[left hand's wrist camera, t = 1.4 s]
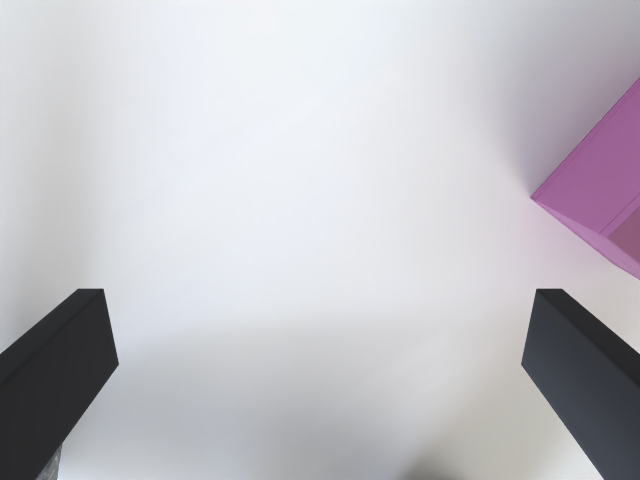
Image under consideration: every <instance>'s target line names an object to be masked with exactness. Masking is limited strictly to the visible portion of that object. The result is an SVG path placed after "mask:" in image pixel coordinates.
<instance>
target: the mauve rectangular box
mask: <svg viewBox="0 0 640 480" xmlns="http://www.w3.org/2000/svg"><path fill="white" fill-rule="evenodd" d="M531 199H532V200H534V201H535V202H536V203H537V204H539V205H540V206H541V207H542V208H544V209H545V210H546V211H547V212H549V213H550V214H551V215H552V216H554V217H555V218H556V219H558V220H559V221H560V222H561V223H563V224H564V225H565V226H566V227H568V228H569V229H570V230H571V231H573V232H574V233H575V234H577V235H578V236H579V237H580V238H582V239H583V240H584V241H585V242H587V243H588V244H589V245H590V246H592V247H593V248H594V249H596V250H597V251H598V252H599V253H601V254H602V255H603V256H604V257H606V258H607V259H608V260H609V261H611V262H612V263H613V264H615V265H616V266H618V267H619V268H621V269H623V270H625V271H626V272H628V273H629V274H631V275H633V276H634V277H636V278H638V279H639V280H640V78H639V79H638V80H637V81H636V82H635V84H634V85H633V86H632V87H631V88H630V89H629V90H628V91H627V92H626V93H625V95H624V96H623V97H622V98H621V99H620V100H619V101H618V102H617V103H616V104H615V105H614V107H613V108H612V109H611V110H610V111H609V112H608V113H607V114H606V115H605V116H604V118H603V119H602V120H601V121H600V122H599V123H598V124H597V125H596V126H595V127H594V129H593V130H592V131H591V132H590V133H589V134H588V135H587V136H586V137H585V138H584V139H583V141H582V142H581V143H580V144H579V145H578V146H577V147H576V148H575V149H574V150H573V152H572V153H571V154H570V155H569V156H568V157H567V158H566V159H565V160H564V161H563V162H562V164H561V165H560V166H559V167H558V168H557V169H556V170H555V171H554V172H553V173H552V175H551V176H550V177H549V178H548V179H547V180H546V181H545V182H544V183H543V184H542V186H541V187H540V188H539V189H538V190H537V191H536V192H535V193H534V194H533V195H532V196H531Z"/></svg>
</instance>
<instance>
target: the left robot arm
mask: <svg viewBox="0 0 640 480" xmlns="http://www.w3.org/2000/svg"><path fill="white" fill-rule="evenodd" d="M118 365H119V363H118V358H117V353H116V348H115V343H114V338H113V333H112V328H111V323H110V318H109V313H108V309H107V304H106V299H105V294H104V289H77V290H76V291H75V292H74V293H73V294H71V295H70V296H69V297H68V298H67V299H65V300H64V301H63V302H62V303H61V304H59V305H58V306H57V307H56V308H55V309H54V310H52V311H51V312H50V313H49V314H48V315H46V316H45V317H44V318H43V319H42V320H40V321H39V322H38V323H37V324H36V325H34V326H33V327H32V328H31V329H30V330H29V331H27V332H26V333H25V334H24V335H23V336H21V337H20V338H19V339H18V340H17V341H15V342H14V343H13V344H12V345H11V346H9V347H8V348H7V349H6V350H5V351H3V352H2V353H1V354H0V480H36V479H37V477H38V476H39V474H40V473H41V472H42V470H43V469H44V468H45V466H46V465H47V463H48V462H49V461H50V459H51V458H52V456H53V455H54V454H55V452H56V451H57V450H58V448H59V447H60V445H61V444H62V443H63V441H64V440H65V438H66V437H67V436H68V434H69V433H70V432H71V430H72V429H73V427H74V426H75V425H76V423H77V422H78V420H79V419H80V418H81V416H82V415H83V413H84V412H85V411H86V409H87V408H88V407H89V405H90V404H91V402H92V401H93V400H94V398H95V397H96V395H97V394H98V393H99V391H100V390H101V389H102V387H103V386H104V384H105V383H106V382H107V380H108V379H109V377H110V376H111V375H112V373H113V372H114V371H115V369H116V368H117V366H118ZM521 365H522V366H523V368H524V369H525V371H526V372H527V373H528V375H529V376H530V377H531V379H532V380H533V382H534V383H535V384H536V386H537V387H538V389H539V390H540V391H541V393H542V394H543V395H544V397H545V398H546V400H547V401H548V402H549V404H550V405H551V407H552V408H553V409H554V411H555V412H556V413H557V415H558V416H559V418H560V419H561V420H562V422H563V423H564V425H565V426H566V427H567V429H568V430H569V432H570V433H571V434H572V436H573V437H574V438H575V440H576V441H577V443H578V444H579V445H580V447H581V448H582V450H583V451H584V452H585V454H586V455H587V456H588V458H589V459H590V461H591V462H592V463H593V465H594V466H595V468H596V469H597V470H598V472H599V473H600V474H601V476H602V477H603V479H604V480H640V354H639V353H638V352H637V351H635V350H634V349H633V348H632V347H631V346H629V345H628V344H627V343H626V342H625V341H623V340H622V339H621V338H620V337H619V336H617V335H616V334H615V333H614V332H613V331H611V330H610V329H609V328H608V327H607V326H606V325H604V324H603V323H602V322H601V321H600V320H598V319H597V318H596V317H595V316H594V315H592V314H591V313H590V312H589V311H588V310H586V309H585V308H584V307H583V306H582V305H581V304H579V303H578V302H577V301H576V300H575V299H573V298H572V297H571V296H570V295H569V294H567V293H566V292H565V291H564V290H563V289H536V294H535V299H534V304H533V309H532V313H531V318H530V323H529V328H528V333H527V338H526V343H525V348H524V353H523V358H522V363H521Z"/></svg>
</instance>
